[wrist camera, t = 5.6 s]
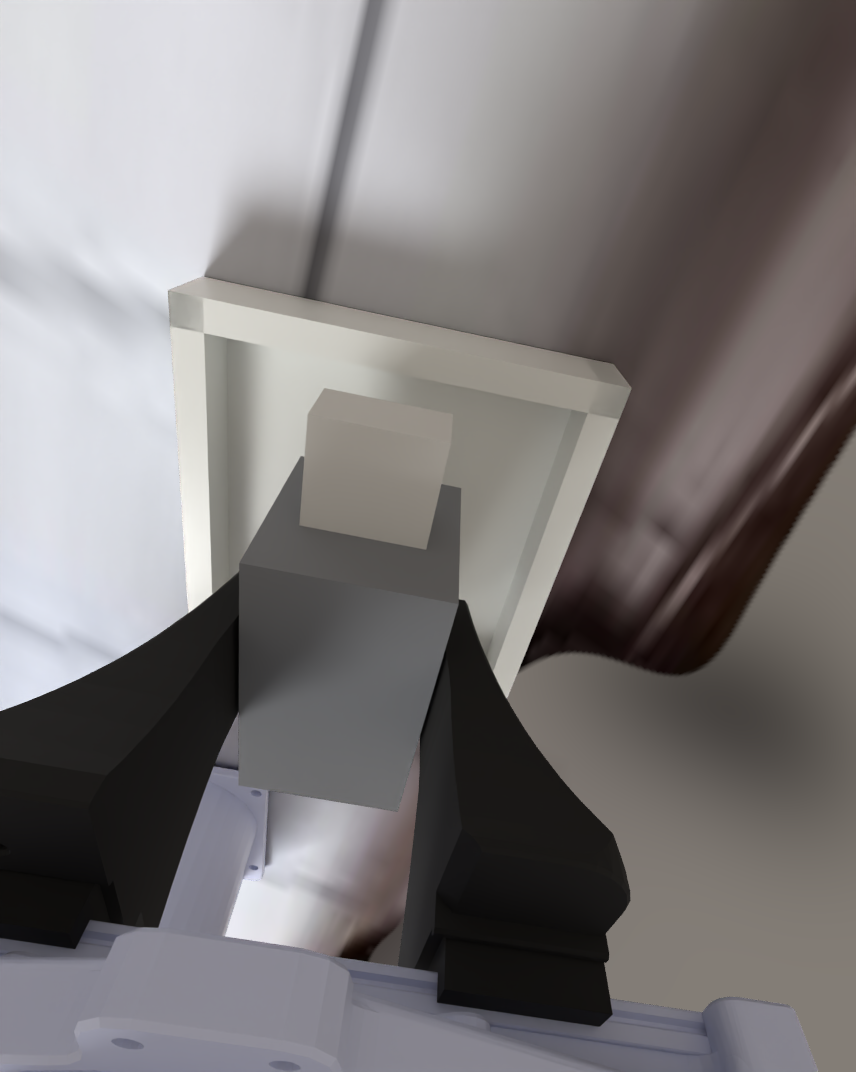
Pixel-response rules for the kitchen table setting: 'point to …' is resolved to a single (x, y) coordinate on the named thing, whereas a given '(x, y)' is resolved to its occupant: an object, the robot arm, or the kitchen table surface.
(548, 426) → the tray
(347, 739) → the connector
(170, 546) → the kitchen table surface
